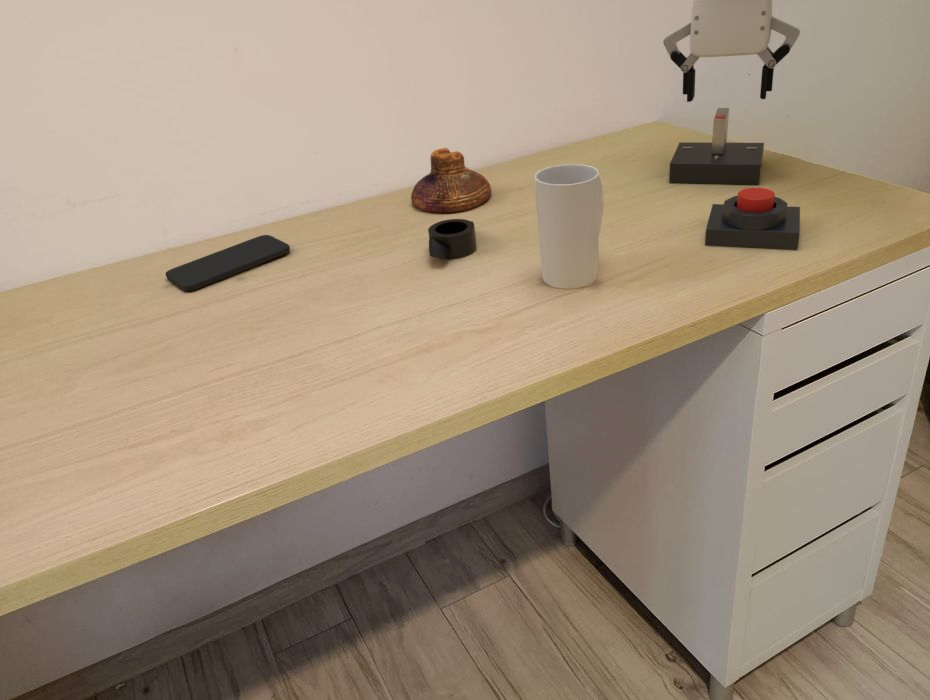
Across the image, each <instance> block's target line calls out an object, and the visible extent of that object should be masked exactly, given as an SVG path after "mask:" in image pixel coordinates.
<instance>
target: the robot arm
mask: <svg viewBox="0 0 930 700" xmlns="http://www.w3.org/2000/svg"><path fill="white" fill-rule="evenodd" d="M691 8H692V9H691V18H690V19H691V20H690V22H689V23H688V24H686V25H683V27H681V28H680V29H678V30H676V31H674V32H673V33H671V34H670V35H668V36H666V37H665V38H664V40H663V42H662V44H663V45H664V47H665V50H666V52H667V53H668V56H669V57H670V58H669V59H670V60H671V61H672V63H674V64H675V65H676V66H677V67H678V68H679V69H680V71H681V72H682V95H684V96H685V95H686V102H687V103H691V102H692V101H693V100H694V99H695V95H696V93H695V92H696V69H695V67H694V66H695V64H696V62H697V61H698V60H699V59H700V58H717V57H737V56H751V55H757V56H758V57H759V58H760V60H761V61H762V62H763V65H762V67H761V81H760V91H759V92H760V93H759V99H761V100H766V98H767V92H772V91H773V85H774V84H773V83H774V82H773V81H774V71H775V67H776V66H777V65H778V63H780V62H781V61H782V60H783V59H784V58H785V57H786V56H788V54H789V53H790V51H791V49H792V48H793V46H794V45H795V43H796V41H797V40H798V38H799V37H800V34H801V31H800V29H799V28H798V27H795V26H794V25H791V24H790V23H787V22H785V21H783V20H780V19H779V18H776V17H774V16H773V15H772V14H773V0H693V1H692V7H691ZM772 31H774V32H776V33H778V34H781V35H783V36H784V37H785V38H784V40H783V42H782V44H781V45H780V46H779V47H778V48H777V49H776V50H775V51H774V52H773V51H772V49H771V48H770V47H769V43H770V40H771V36H772ZM688 36H689V51H690V54H689V55H688V56H685V54H683V53H682V51H680V50H679V48H678V45H677V44H678V42H680V41H682V40H683V39H685V38H686V37H688Z"/></svg>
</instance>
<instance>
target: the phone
mask: <svg viewBox="0 0 930 700" xmlns="http://www.w3.org/2000/svg"><path fill="white" fill-rule="evenodd" d="M290 251H291V247H290V244H288V243H287V242H284V241H282V240H281V239H278V238H276V237H274V236H272V235H271V234H270V235H269V234H263V235H259V236H256V237H253V238H250V239H248V240H245V241H243V242H240V243H237V244H234V245H232V246H229V247H227V248H226V247H225V248H224V249H221V250H219V251H215V252H213V253H211V254H208V255H205V256H202V257H199V258H197V259H194V260H192V261H189V262H187V263H183V264H181V265H178V266H176V267H173V268H170V269H168V270H167V271H166V272H165V277H166V279H167V280H168V282H171V283H172V284H174V285H175V287H178V288H179V289H180V290H182V291H184V292H191V291H195V290H198V289H200V288H203V287H205V286H208V285H211V284H213V283H216V282H218V281H221V280H223V279H226V278H228V277H231V276H233V275H236V274H239V273H241V272H244V271H246V270H248V269H252V268H253V267H256V266H258V265H261V264H264V263H266V262H269V261H272V260H273V259H276V258H279V257H281V256H284V255H286V254H288V253H289V252H290Z"/></svg>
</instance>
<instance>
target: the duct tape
mask: <svg viewBox="0 0 930 700" xmlns="http://www.w3.org/2000/svg"><path fill="white" fill-rule="evenodd" d="M427 232H428V252H429V257H432V258H435V259H439V260H455V259H461V258H464V257H467V256H470V255H471V254H474V252H475V251H476V250H477V247H478V246H477V239H476V227H475V222H474V221H473V220H472V221H471V220H469V219H464V218H451V219H450V218H449V219H444V220H441V221H438V222H435V223H433V224H432V225H430V226H429V227H428V228H427Z"/></svg>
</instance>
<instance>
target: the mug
mask: <svg viewBox="0 0 930 700" xmlns="http://www.w3.org/2000/svg"><path fill="white" fill-rule="evenodd" d="M534 189H535V190H534V191H535V203H536V204H535V205H536V216H537V228H538V229H537V230H538V231H537V232H538V241H539V243H538V244H539V257H540V267H541V277H542V281H543V283H545V284H546V285H547V286H549V287H552V288H555V289H561V290H575V289H581V288H585V287H588V286H590V285H592V284H593V283H594V282H595V281H596V280H598V277H599V275H598V273H599V245H600V244H599V240H600V239H599V237H600V234H601V226H602V220H603V213H604V189H603V185H602V181H601V178H600V170H599V169H598V168H596V167H594V166H591V165H589V164H581V163H565V164H557V165H552V166H548V167H545V168H541V169H540V170H539V171H537V172H536V173H535V174H534Z"/></svg>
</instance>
